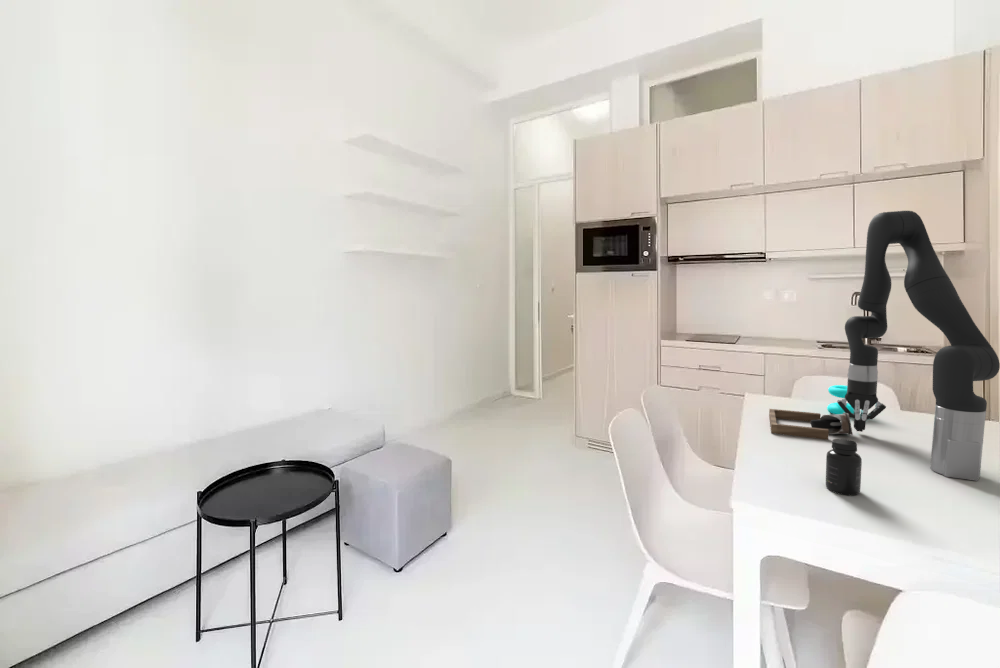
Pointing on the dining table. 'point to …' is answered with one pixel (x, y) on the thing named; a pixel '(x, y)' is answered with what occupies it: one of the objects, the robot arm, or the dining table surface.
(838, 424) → the caster wheel
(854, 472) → the supplement bottle
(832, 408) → the donuts
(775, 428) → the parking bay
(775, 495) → the dining table surface
